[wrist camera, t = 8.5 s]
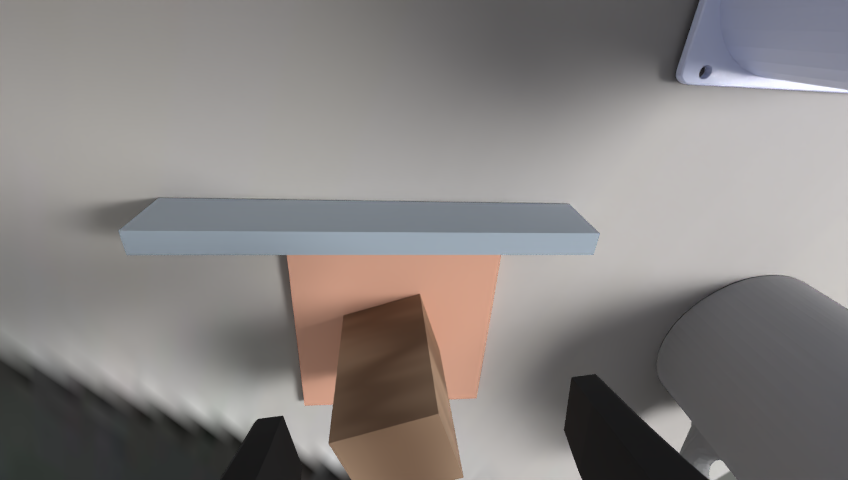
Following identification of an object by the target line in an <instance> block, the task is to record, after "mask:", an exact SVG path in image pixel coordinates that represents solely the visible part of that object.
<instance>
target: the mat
mask: <svg viewBox="0 0 848 480" xmlns="http://www.w3.org/2000/svg"><path fill="white" fill-rule="evenodd" d="M500 259H501V255H287V261H288V270H289V278H290V286H291V295H292V303H293V312H294V320H295V328H296V337H297V345H298V354H299V362H300V371H301V379H302V387H303V396H304V404H305V406H308V405H331V404H333V401H334V392H335V384H336V375H337V366H338V358H339V349H340V341H341V332H342V323H343V315H347V314H350V313H354V312H357V311H361V310H364V309H368V308H371V307H375V306H378V305H382V304H385V303H389V302H392V301H396V300H399V299H403V298H406V297H410V296H413V295H417V294H420V295H421V298H422V301H423V304H424V307H425V309H426V312H427V315H428V318H429V321H430V324H431V327H432V330H433V333H434V335H435V338H436V341H437V344H438V347H439V350H440V355H441V360H442V366H443V371H444V376H445V382H446V387H447V392H448V398H449V399H471V398H476V397H477V392H478V386H479V380H480V374H481V369H482V363H483V357H484V351H485V345H486V340H487V334H488V328H489V322H490V317H491V311H492V305H493V299H494V293H495V288H496V282H497V276H498V270H499V265H500Z"/></svg>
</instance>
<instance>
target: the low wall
mask: <svg viewBox="0 0 848 480" xmlns="http://www.w3.org/2000/svg"><path fill="white" fill-rule="evenodd" d="M118 231H119V234H120V237H121V240H122V243H123V246H124V249H125V252H126V255H594V251H595V248H596V245H597V241H598V238H599V235H600V233H599V232H598V231H597V230H596V229H595V228H594V227H593V226H592V225H590V224H589V223H588V222H587V221H586V220H585V219H584V218H583V217H582V216H581V215H580V214H579V213H578V212H577V211H576V210H575V209H574V208H573V207H572V206H571V205H570V204H542V203H474V202H407V201H339V200H272V199H204V198H158V199H157V200H155V201H154V202H153V203H152V204H150V205H149V206H148V207H147V208H146V209H144V210H143V211H142V212H141V213H139V214H138V215H137V216H136V217H134V218H133V219H132V220H131V221H130V222H128V223H127V224H126V225H125V226H123V227H122V228H121V229H120V230H118Z"/></svg>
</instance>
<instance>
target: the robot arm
mask: <svg viewBox="0 0 848 480" xmlns="http://www.w3.org/2000/svg"><path fill="white" fill-rule="evenodd" d="M704 66H705V72H704V73H703V75H702V76H701V77H699V72H700V70H701V68H702V67H704ZM676 78H677V80H678V81H679V82H680V83H683V84H687V85H702V86H721V87H740V88H759V89H778V90H797V91H816V92H835V93H848V0H700V1H699V4H698V7H697V10H696V13H695V16H694V19H693V22H692V25H691V28H690V31H689V34H688V37H687V40H686V43H685V46H684V49H683V52H682V55H681V59H680V62H679V65H678V68H677V71H676ZM564 431H565V434H566V437H567V440H568V443H569V446H570V449H571V451H572V454H573V457H574V460H575V463H576V465H577V468H578V471H579V473H580V476H581V478H582V480H709V479H708V478H707V477H706V476H704V475H703V474H702V473H701V472H700V471H699V470H697V469H696V468H695V467H694V466H693V465H692V464H691V463H689V462H688V461H687V460H686V459H685V458H684V457H683V456H682V455H680V454H679V453H678V452H677V451H676V450H675V449H674V448H673V447H672V446H670V445H669V444H668V443H667V442H666V441H665V440H664V439H663V438H662V437H661V436H659V435H658V434H657V433H656V432H655V431H654V430H653V429H652V428H651V427H650V426H649V425H648V424H647V423H645V422H644V421H643V420H642V419H641V418H640V417H639V416H638V415H637V414H636V413H635V412H634V411H633V410H632V409H631V408H630V407H629V406H628V405H627V404H626V403H625V402H624V401H623V400H622V399H621V398H620V397H619V396H618V395H616V394H615V393H614V392H613V391H612V390H611V389H610V388H609V387H608V386H607V385H606V384H605V383H604V382H603V381H602V380H601V379H600V378H599V377H598V376H597V375H596V374H593V375H586V376H578V377H572V378H571V385H570V392H569V399H568V406H567V413H566V420H565V427H564ZM301 472H302V465H301V462H300V459H299V457H298V454H297V451H296V449H295V446H294V444H293V441H292V438H291V436H290V433H289V430H288V428H287V425H286V422H285V420H284V417H283V416H277V417H269V418H262V419H257V420H256V422H255V423H254V424H253V426H252V428H251V429H250V431H249V433H248V434H247V436H246V438H245V439H244V441H243V443H242V444H241V446H240V448H239V449H238V451H237V453H236V454H235V456H234V457H233V459H232V461H231V462H230V464H229V465H228V467H227V469H226V470H225V472H224V473H223V475H222V477H221V478H220V480H301Z"/></svg>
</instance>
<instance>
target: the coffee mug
mask: <svg viewBox="0 0 848 480" xmlns="http://www.w3.org/2000/svg"><path fill="white" fill-rule="evenodd" d="M657 373H658V377H659V379H660V381H661V383H662V384H663V385H664V387H665V388H666V389H667V390H668V392H669V393H670V394H671V395H672V397H673V398H674V399H675V401H676V402H677V403H678V404H679V406H680V407H681V408H682V410H683V411H684V412H685V413H686V415H687V416H688V417H689V418H690V420H691V421H692V424H691V428H690V431H689V433H688V435H687V437H686V439H685V442H684V444H683V446H682V448H681V451H680V455H682V456H683V457H684V458H685V459H686V460H687V461H688V462H689V463H691V464H692V465H693V466H694V467H695V468H696V469H697V470H699V471H700V472H701V473H702V474H703V475H704V476H706V477H707V478H708V479H709V470H710V466H711V465H712V463H713V462H714V461H716V460H722V461H723V462H724V463H725V464H726V466H727V467H728V468H729V470H730V471H731V472H732V473H733V475H734V476H735V477H736V479H737V480H848V309H847V308H845V307H844V306H842V305H840V304H839V303H837V302H835V301H834V300H832V299H831V298H829V297H827V296H826V295H824V294H822V293H821V292H819V291H818V290H816V289H814V288H813V287H811V286H809V285H808V284H806V283H805V282H803V281H800V280H798V279H796V278H792V277H788V276H779V275H772V276H760V277H754V278H750V279H746V280H743V281H740V282H737V283H734V284H731V285H729V286H727V287H725V288H723V289H720V290H718V291H716V292H714V293H713V294H711V295H709V296H708V297H706V298H704V299H703V300H701V301H700V302H698V303H697V304H696V305H695V306H693V307H692V308H691V309H690V310H688V311H687V312H686V313H685V314H684V315H683V316H682V317H681V318H680V319H679V320H678V321H677V323H676V324H675V325H674V326H673V327H672V328H671V330H670V331H669V333H668V334H667V336H666V337H665V339H664V341H663V343H662V345H661V347H660V350H659V353H658V357H657ZM709 480H710V479H709Z"/></svg>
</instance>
